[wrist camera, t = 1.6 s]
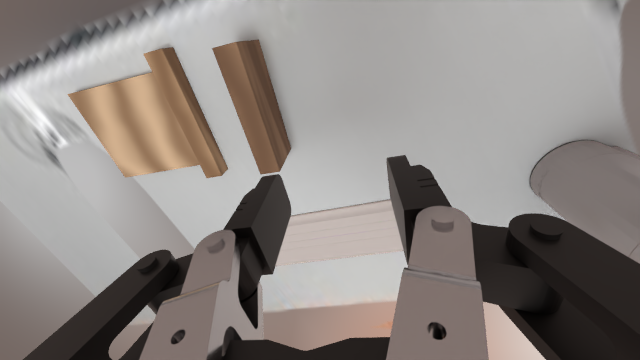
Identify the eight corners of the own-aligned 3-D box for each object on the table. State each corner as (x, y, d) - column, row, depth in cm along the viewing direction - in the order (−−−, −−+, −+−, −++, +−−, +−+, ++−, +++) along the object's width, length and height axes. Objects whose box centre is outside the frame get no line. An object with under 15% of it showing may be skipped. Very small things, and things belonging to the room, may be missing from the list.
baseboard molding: (248, 213, 44) (272, 260, 50) (242, 224, 41) (269, 272, 47) (435, 181, 37) (438, 239, 43) (441, 192, 35) (444, 252, 40)
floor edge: (173, 47, 30) (161, 48, 29) (227, 168, 39) (221, 175, 37) (67, 77, 34) (51, 79, 32) (139, 183, 42) (129, 190, 40)
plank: (258, 39, 29) (235, 41, 23) (291, 148, 36) (279, 171, 30) (239, 44, 30) (212, 48, 24) (275, 150, 36) (260, 174, 30)
